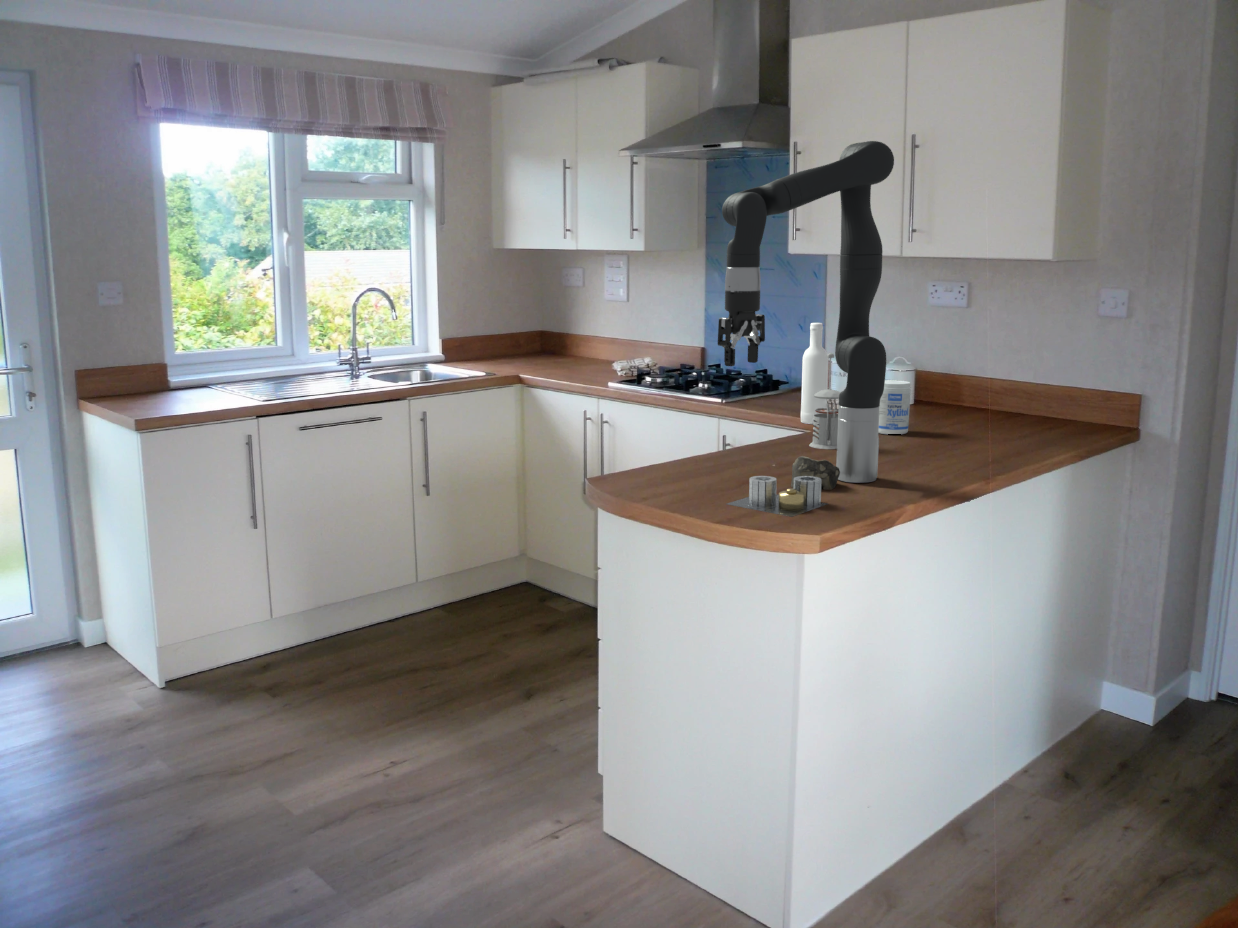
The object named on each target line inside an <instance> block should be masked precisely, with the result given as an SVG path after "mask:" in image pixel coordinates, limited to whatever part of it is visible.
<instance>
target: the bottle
mask: <svg viewBox="0 0 1238 928" xmlns="http://www.w3.org/2000/svg"><path fill="white" fill-rule="evenodd" d="M823 325H824V324H823V323H822V322H811V323H810V326H809V330H810V331H809V332H810V333H809V334H810V335H809V347H808V348H806V349H805V350H804V353H803V355H802V361H801V364H802V365H801V366H802V367H801V369H802V370H801V401H800V403H801V404H800V422H801V423H802V424H806V425H813V423H814V420H813V418H814V415H816V414H823V413H818V412H816V411H815V410H816V409H818V408H824V409H825V408H827V403H828V399H820V398H815V397H814V394H816V393H817V392H819V391H822V390H827V389H829V386H828V385H829V383H828V382H829V361H830V358H827V355H828V354H829V353H828V351H827V350H826V349H825V348H824V347H823V330H824V326H823ZM815 423H816V424H819V423H818V422H815Z"/></svg>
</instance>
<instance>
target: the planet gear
mask: <svg viewBox="0 0 1238 928" xmlns="http://www.w3.org/2000/svg"><path fill="white" fill-rule="evenodd" d="M748 479H749V481H748V483H749V486H748V487H749V489H748V490H749V491H748V497H749V503H751V504H754V505H763V506H765V505H773V504H776V494H777V482H778V481H777V477H774V476H769V475H768V476H767V475H753V476H751V477H749V478H748Z"/></svg>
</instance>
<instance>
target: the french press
mask: <svg viewBox="0 0 1238 928" xmlns="http://www.w3.org/2000/svg"><path fill="white" fill-rule="evenodd" d="M827 354H828V355H827V358H829V375H828V382H829V383H828V385H829V386H828V389H827V390H822V391H819V392H817V393H816V394H814V397H815V398H820V399H827V400H828V402H827V408H825V409H824V408H818V409H816V410H815V411H816V412H818V413H823V414H816V415H814V418H813V420H814V423H813V424H812V426H813V427H812V430H813V432H812V435H813V436H812V442H810V444H809V445H808V446H809V447H811V448H814V449H821V450H837V435H838V408H835V402H832V406H830V404H829V402H830V400H837V399H838V400H839V394H840V393H841V392H842V391H839V390H836V389H832V388H831V374H832V373H831V371H832V370H831V369H832V358H833V359H834V358H835V353H832V352H829V353H827ZM815 422H818V423H819V424H816V423H815Z"/></svg>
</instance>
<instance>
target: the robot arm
mask: <svg viewBox="0 0 1238 928" xmlns="http://www.w3.org/2000/svg"><path fill="white" fill-rule="evenodd" d="M894 165H895V156H894V153H893V151H892V149H891V148H890V147H889V146H888V145H887V144H886V143H884V142H881V141H877V140H869V141H868V140H867V141H862V142H856V143H851V144H850V145H848V146H846V147H845V148H844V150H843V151H842V152H841V155H840V157H839V160H836V161H834V162H830V163H828V164H824V165H820V166H817V167H813V168H809V169H805V170H801V171H797V172H794V173H791V174H788V175H786V176H783V177H780V178H777V179H775V180H773V181H771V182H768V183H766V184H763V185H759V186H756V187H752V188H749V189H745V190H742V191H741V190H740V191H739V192H736V193H733V194H731V195H729V196H728V197H727V198H726V199H725V200H724V202H723V204H722V209H721V214H722V217H723V220H725V222H726V223H727V224H728V225H729V226H733V227H735V230H734V237H733V238H732V239H731V240H729V242H728V244H727V246H726V247H727V248H726V270H725V271H726V272H725V279H724V310H725V311H726V312H728V317H719V318H718V324H717V325H718V327H717V346H718V347H722V348H723V349H724V356H723V357H724V358H723V361H724V365H725V366H726V367H735V365H736V345H737V343H738V341H740V340H741V338H745V339H746V342H747V344H748V345H747V362H748V363H753V364H754V363H758V361H759V346H760V345H761V343H762V342H763V343H764V342H765V340H766V321H765V320H766V317H765V314H761V313H760V314H757V313H756V312H758V311H760V310H761V283H762V282H761V268H760V267H761V265H760V264H761V250H760V249H761V244H762V241H763V236H764V233H765V228H766V224H767V217H768V216H773V215H780V214H783V213H787V212H789V211H792V210H794V209H798V208H799V207H802V206H804V205H807V204H810V203H812V202H815V201H818V200H820V199H823V198H824V197H826V196H829V195H832V194H836V193H838V192H839V193H840V197H839V198H840V210H841V211H840V213H841V214H840V218H841V219H840V252H839V253H840V255H839V257H840V258H839V313H838V314H839V315H838V324H837V325H838V326H837V332H836V341H835V348H834V351H835V353H834V358H835V362H836V364H837V366H838V368H839V369H840V370H841V371H843V372H844V373H846V374H847V376H846V386H845V388H844V389H843V391H840V392H841V393H840V394H839V399H838V407H837V409H838V413H837V414H838V435H837V449H836V460H835V461H836V462H835V463H836V464H835V466H836V467H838V468H839V470H840V475H839V478H838V480H839V481H841V482H846V483H857V484H858V483H860V484H861V483H862V484H863V483H864V484H865V483H871V482H875V481H876V480H877V477H878V470H879V469H878V468H879V467H878V465H879V449H880V447H879V446H880V439H879V433H878V432H879V408H880V399H881V397H882V394H883V391H884V384H885V380H886V374H887V373H886V370H887V351H886V348H885V346H884V344H883V342H882V341H880V340H879V339H878V338H876V337H874V336H871V335H870V313H871V307H872V305H873V302H874V299H875V297H876V294H877V292H878V289H879V286H880V283H881V280H882V279H881V278H882V273H883V244H882V239H881V236H880V233H879V230H878V227H877V225H876V223H875V220H874V216H873V213H872V207H871V205H872V204H871V197H872V196H871V194H872V193H871V192H872V185H878V184H879V183H881V182H883V181H885V180H886V179H888V177H889V176H890V175H891V174H892V171H893V169H894ZM724 337H725V338H724Z"/></svg>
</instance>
